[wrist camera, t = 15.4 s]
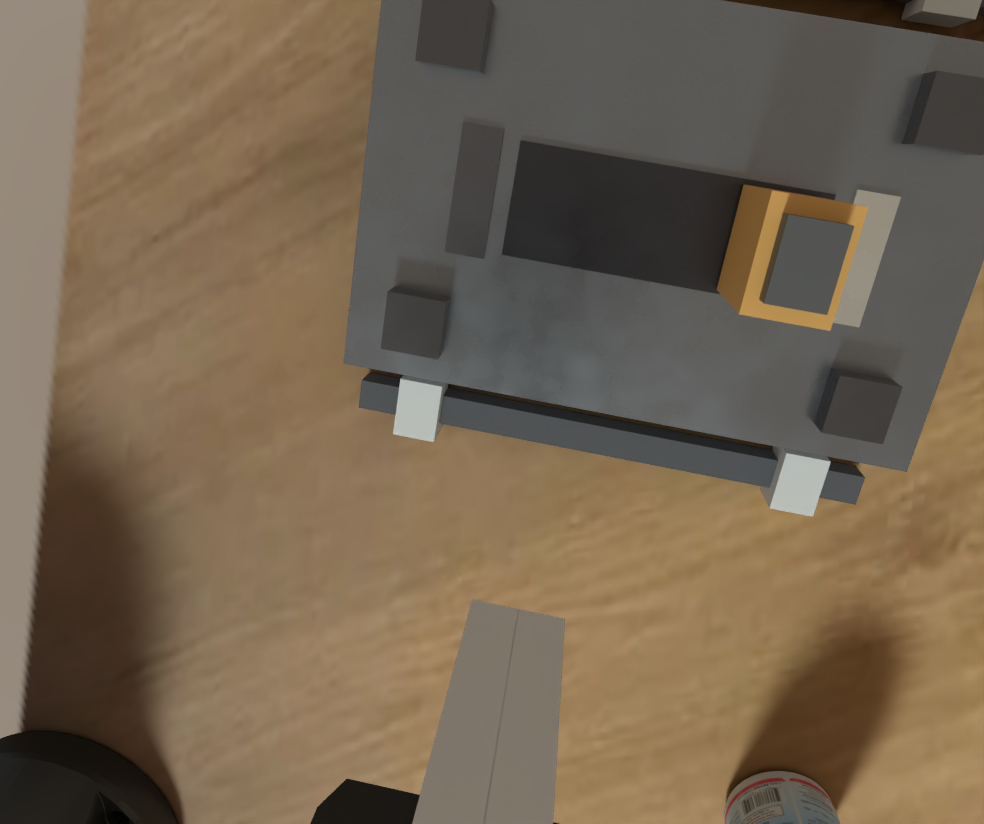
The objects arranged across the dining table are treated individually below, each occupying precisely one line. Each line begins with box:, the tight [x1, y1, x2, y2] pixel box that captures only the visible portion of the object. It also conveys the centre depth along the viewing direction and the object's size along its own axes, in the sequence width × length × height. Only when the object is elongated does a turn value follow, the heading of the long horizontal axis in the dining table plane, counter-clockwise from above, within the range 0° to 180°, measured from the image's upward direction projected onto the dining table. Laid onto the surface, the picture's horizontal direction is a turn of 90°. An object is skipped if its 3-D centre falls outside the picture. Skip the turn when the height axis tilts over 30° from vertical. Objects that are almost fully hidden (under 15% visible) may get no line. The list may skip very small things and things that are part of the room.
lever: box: [717, 184, 869, 331], centre depth 28 cm, size 3×4×6 cm
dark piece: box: [359, 0, 984, 517], centre depth 34 cm, size 24×26×2 cm
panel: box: [344, 0, 984, 472], centre depth 33 cm, size 24×16×6 cm, turn 81°
